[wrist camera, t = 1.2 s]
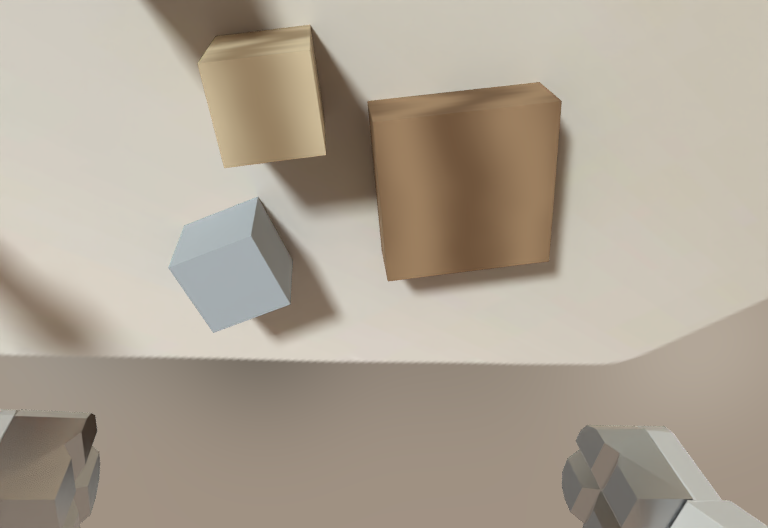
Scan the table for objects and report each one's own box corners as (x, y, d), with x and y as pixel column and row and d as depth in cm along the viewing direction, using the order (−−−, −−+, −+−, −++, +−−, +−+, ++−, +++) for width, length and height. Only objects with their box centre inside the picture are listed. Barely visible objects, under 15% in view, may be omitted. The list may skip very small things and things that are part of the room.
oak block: (310, 24, 32) (309, 50, 27) (324, 116, 35) (326, 155, 30) (215, 35, 32) (197, 63, 27) (237, 127, 34) (224, 168, 29)
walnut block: (537, 80, 35) (561, 100, 32) (529, 230, 40) (549, 261, 37) (367, 99, 35) (373, 122, 31) (381, 248, 40) (387, 281, 37)
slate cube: (258, 196, 37) (250, 235, 33) (292, 259, 39) (290, 304, 35) (184, 224, 37) (168, 267, 33) (223, 285, 40) (213, 332, 36)
